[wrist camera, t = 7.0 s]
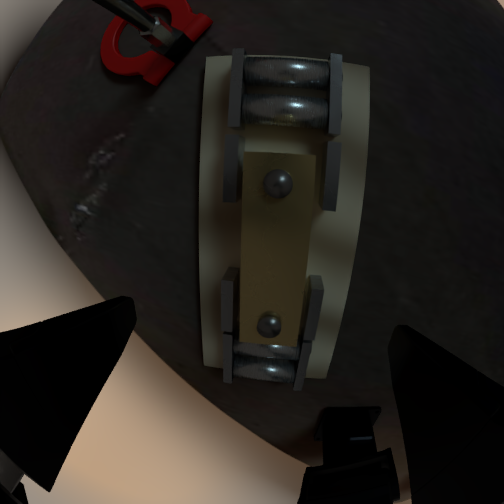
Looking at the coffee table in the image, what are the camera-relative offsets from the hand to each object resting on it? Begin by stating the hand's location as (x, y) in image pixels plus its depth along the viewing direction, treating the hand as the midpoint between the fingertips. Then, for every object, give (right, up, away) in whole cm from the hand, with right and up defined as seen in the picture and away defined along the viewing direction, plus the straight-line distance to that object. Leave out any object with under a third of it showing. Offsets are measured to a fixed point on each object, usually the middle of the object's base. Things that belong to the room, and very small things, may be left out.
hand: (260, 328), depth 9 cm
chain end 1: (+2, +10, +8) cm, 13 cm away
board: (+2, +4, +11) cm, 12 cm away
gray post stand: (-8, +20, +7) cm, 23 cm away
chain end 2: (+1, -3, +12) cm, 13 cm away
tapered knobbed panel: (+1, +3, +10) cm, 11 cm away
